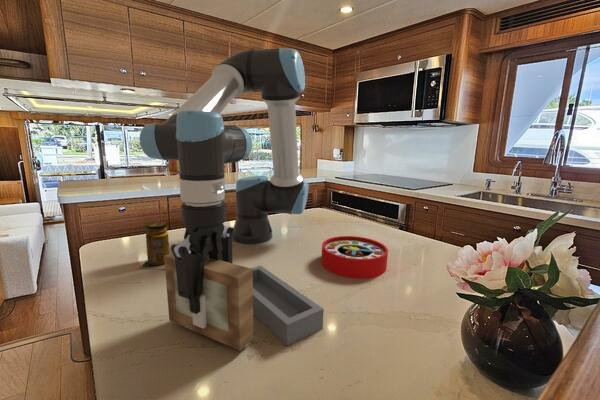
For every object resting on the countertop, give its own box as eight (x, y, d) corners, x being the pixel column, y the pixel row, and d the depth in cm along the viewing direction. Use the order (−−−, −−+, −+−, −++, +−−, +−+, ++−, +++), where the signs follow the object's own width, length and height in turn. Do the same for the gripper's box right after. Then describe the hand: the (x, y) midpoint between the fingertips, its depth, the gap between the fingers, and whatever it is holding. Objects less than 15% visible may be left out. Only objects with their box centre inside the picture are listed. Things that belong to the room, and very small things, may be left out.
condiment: (175, 257, 95) (172, 221, 93) (164, 269, 87) (161, 229, 84) (151, 257, 95) (148, 220, 92) (138, 269, 87) (134, 229, 84)
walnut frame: (168, 320, 61) (163, 256, 58) (185, 310, 65) (181, 249, 62) (239, 351, 53) (238, 278, 50) (253, 337, 57) (252, 268, 54)
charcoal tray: (229, 290, 76) (229, 274, 75) (260, 281, 81) (260, 265, 80) (287, 346, 57) (287, 324, 56) (322, 328, 62) (323, 308, 61)
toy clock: (326, 233, 105) (386, 239, 100) (325, 249, 106) (384, 255, 102) (317, 255, 86) (390, 263, 81) (316, 274, 87) (388, 283, 83)
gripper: (179, 215, 44) (188, 353, 50) (250, 195, 59) (251, 302, 65) (145, 208, 48) (157, 338, 53) (220, 191, 63) (224, 293, 68)
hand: (209, 318), depth 59 cm, fingers closed on walnut frame, 4 cm apart
